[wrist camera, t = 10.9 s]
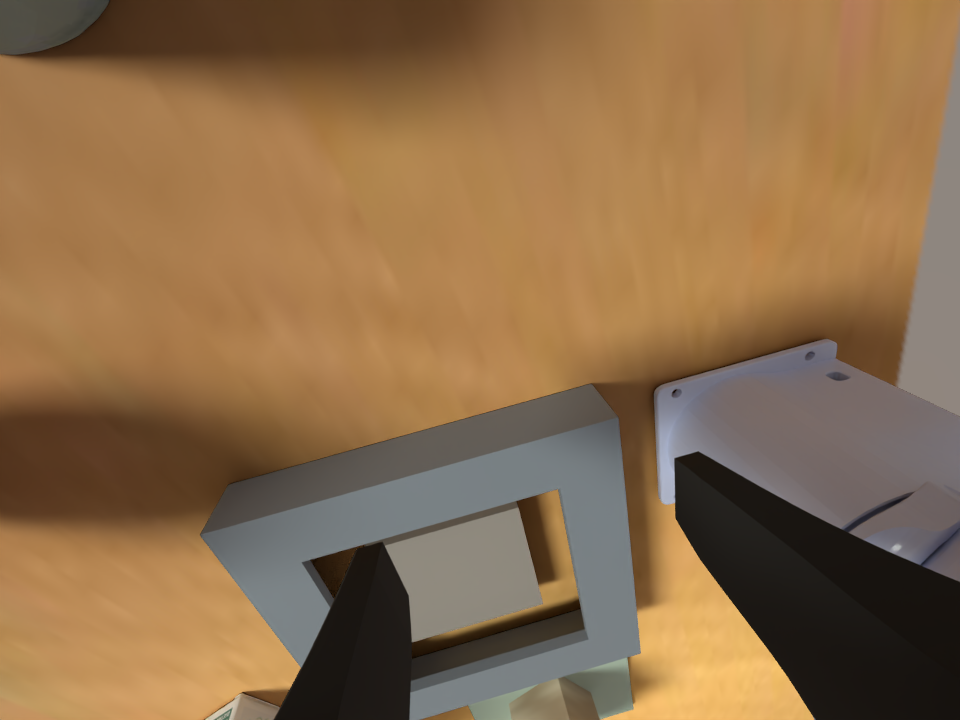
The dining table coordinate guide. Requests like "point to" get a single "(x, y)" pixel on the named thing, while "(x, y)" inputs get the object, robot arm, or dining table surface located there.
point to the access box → (451, 542)
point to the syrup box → (246, 710)
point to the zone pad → (601, 681)
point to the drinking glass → (44, 23)
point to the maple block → (554, 702)
